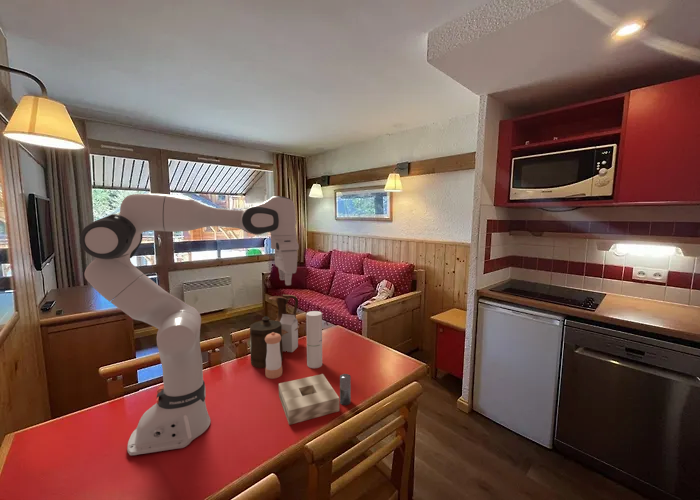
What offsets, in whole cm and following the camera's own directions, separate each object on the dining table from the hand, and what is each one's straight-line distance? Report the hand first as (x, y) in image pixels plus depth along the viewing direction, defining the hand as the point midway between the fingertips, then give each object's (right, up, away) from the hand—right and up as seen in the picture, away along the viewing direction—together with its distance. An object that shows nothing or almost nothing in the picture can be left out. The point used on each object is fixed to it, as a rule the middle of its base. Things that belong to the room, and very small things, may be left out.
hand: (285, 282), depth 105 cm
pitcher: (-13, -41, +54) cm, 69 cm away
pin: (+21, -46, +6) cm, 51 cm away
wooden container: (-17, -43, +38) cm, 60 cm away
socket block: (+7, -46, +5) cm, 46 cm away
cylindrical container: (+6, -43, +34) cm, 55 cm away
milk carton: (-9, -41, +51) cm, 66 cm away
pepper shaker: (-11, -44, +26) cm, 52 cm away
